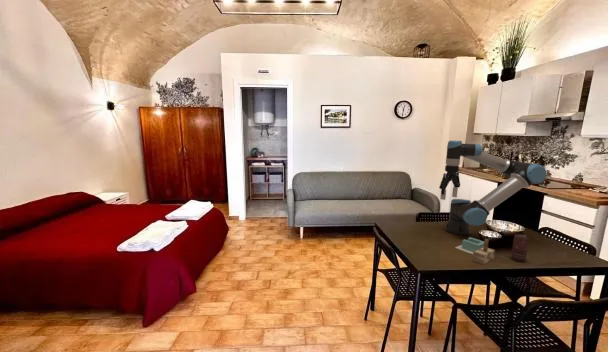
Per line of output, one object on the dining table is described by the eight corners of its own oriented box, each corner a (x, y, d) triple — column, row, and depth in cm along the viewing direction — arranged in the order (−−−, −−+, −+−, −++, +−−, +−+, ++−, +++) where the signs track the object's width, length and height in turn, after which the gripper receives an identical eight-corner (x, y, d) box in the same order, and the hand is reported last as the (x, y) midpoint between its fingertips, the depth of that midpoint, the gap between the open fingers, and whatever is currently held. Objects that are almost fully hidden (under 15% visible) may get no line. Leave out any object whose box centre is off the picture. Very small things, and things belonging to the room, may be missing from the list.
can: (528, 261, 140) (532, 236, 137) (520, 263, 138) (524, 238, 136) (516, 256, 145) (520, 232, 143) (508, 257, 144) (511, 233, 141)
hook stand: (483, 255, 146) (486, 235, 145) (493, 258, 142) (496, 238, 140) (472, 260, 139) (474, 240, 138) (482, 264, 135) (485, 243, 133)
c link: (485, 250, 152) (486, 242, 151) (478, 254, 147) (479, 245, 146) (469, 244, 159) (470, 237, 158) (461, 248, 154) (462, 240, 154)
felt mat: (466, 243, 163) (466, 242, 163) (492, 251, 151) (492, 251, 151) (455, 248, 155) (455, 247, 155) (480, 257, 144) (480, 256, 143)
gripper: (456, 163, 173) (453, 194, 176) (435, 165, 159) (431, 199, 163) (468, 164, 167) (464, 197, 170) (447, 166, 153) (443, 201, 157)
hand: (448, 198), depth 166 cm, fingers open, 13 cm apart
